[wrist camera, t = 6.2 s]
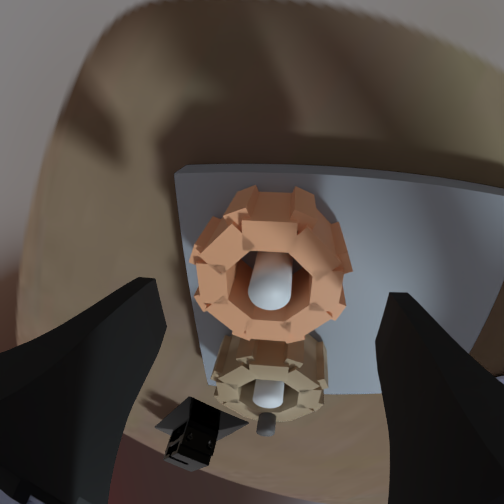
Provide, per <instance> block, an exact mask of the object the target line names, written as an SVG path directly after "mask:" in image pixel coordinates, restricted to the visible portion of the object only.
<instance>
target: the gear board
mask: <svg viewBox="0 0 504 504" xmlns="http://www.w3.org/2000/svg"><path fill="white" fill-rule="evenodd" d="M174 179H175V188H176V197H177V205H178V213H179V221H180V229H181V236H182V243H183V250H184V257H185V263H186V270H187V276H188V282H189V288H190V294H191V300H192V306H193V311H194V317H195V322H196V328H197V333H198V338H199V343H200V348H201V353H202V358H203V363H204V367H205V372H206V377H207V381H208V385H213V386H217V385H216V381H214V380H211V379H210V378H211V375H212V372H213V368H214V365H215V362H216V358H217V355H218V352H219V348H220V345H221V343H222V341H223V339H224V336H225V335H227V336H229V337H230V336H232V335H233V334H232V330H231V329H229V328H228V327H227V326H225V325H224V324H223V323H222V322H220V321H219V320H218V319H217V318H215V317H214V316H213V315H212V314H210V313H209V312H208V311H205V312H203V311H202V309H201V307H200V306H199V304H198V303H197V301H196V299H195V298H194V294H195V292H196V290H197V288H198V286H199V284H198V277H197V269H196V265H194V264H192V263H189V259H190V256H191V253H192V250H193V247H194V244H195V242H196V241H197V239H198V238H199V236H200V235H201V233H202V232H203V230H204V229H205V227H206V226H207V224H208V223H209V221H210V220H211V218H212V217H213V216H214V217H216V218H219V219H221V218H222V217H223V215H224V213H225V212H226V210H227V208H228V207H229V205H230V203H231V202H232V200H233V198H234V197H235V195H236V193H237V192H238V191H241V190H243V189H246V188H249V187H251V186H254V185H256V186H257V188H258V191H259V192H282V193H292V192H293V190H294V188H295V186H296V187H298V188H301V189H303V190H305V191H307V192H310V193H312V194H314V197H315V204H316V208H317V209H318V210H319V211H320V213H321V214H322V215H323V216H324V217H325V218H326V219H327V220H328V221H329V222H330V223H331V224H333V223H336V222H339V224H340V227H341V230H342V233H343V236H344V240H345V243H346V247H347V250H348V254H349V258H350V262H351V265H352V269H353V272H350V273H346V274H344V277H343V283H342V284H343V290H344V295H345V301H346V307H345V309H344V310H343V312H342V313H341V314H340V316H339V317H338V318H337V320H336V321H334V320H332V319H330V320H329V321H327V322H326V323H324V324H322V325H321V326H319V327H318V328H316V329H314V330H313V331H311V332H309V333H308V334H309V335H311V336H312V337H313V338H314V339H315V340H317V341H318V342H322V341H323V342H324V345H325V347H326V350H327V363H328V388H327V389H324V394H373V393H382V391H381V386H380V381H379V376H378V371H377V361H376V349H375V339H376V336H377V333H378V330H379V327H380V323H381V320H382V316H383V313H384V310H385V306H386V302H387V299H388V295H389V292H408V293H409V294H410V295H411V296H412V297H413V298H414V299H415V300H416V301H417V302H418V303H419V304H420V305H421V306H422V307H423V308H424V309H425V310H426V311H427V312H428V313H429V314H430V315H431V316H432V317H433V318H434V319H435V320H436V321H437V323H438V324H439V325H440V326H441V327H442V328H443V329H444V330H445V331H446V332H447V333H448V334H449V335H450V336H451V337H452V338H453V339H454V340H455V341H456V342H457V343H458V344H459V345H460V346H461V347H462V348H463V349H464V350H465V351H466V352H467V353H468V354H469V352H470V351H471V349H472V347H473V345H474V343H475V341H476V340H477V338H478V336H479V334H480V332H481V330H482V328H483V326H484V324H485V322H486V320H487V318H488V316H489V313H490V311H491V309H492V307H493V305H494V302H495V300H496V298H497V296H498V293H499V291H500V288H501V286H502V283H503V281H504V189H503V188H498V187H493V186H488V185H483V184H477V183H472V182H466V181H460V180H454V179H447V178H440V177H433V176H426V175H418V174H410V173H402V172H393V171H383V170H373V169H361V168H348V167H333V166H315V165H291V164H198V165H186V166H184V167H183V168H181V169H180V170H178V171H177V172H176V173H174ZM241 259H242V260H243V261H244V262H245V263H246V264H247V265H248V266H250V267H251V268H252V269H253V273H252V277H251V280H250V284H249V288H248V295H249V298H250V300H251V301H252V303H253V304H255V305H256V306H257V307H259V308H261V309H265V310H277V309H280V308H282V307H284V306H285V305H286V304H287V303H288V302H289V300H290V297H291V285H292V275H293V274H294V273H295V272H297V271H298V270H299V269H301V268H302V266H301V265H300V264H299V263H298V262H297V261H296V260H295V259H294V258H293V257H292V256H291V255H290V254H289V253H286V252H267V251H249V252H248V253H247V254H246V255H245V256H243V257H242V258H241ZM283 394H284V382H283V381H274V380H261V379H256V382H255V388H254V394H253V402H254V403H255V404H256V405H258V406H260V407H263V408H276V407H279V406H280V405H281V404H282V403H283Z"/></svg>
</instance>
